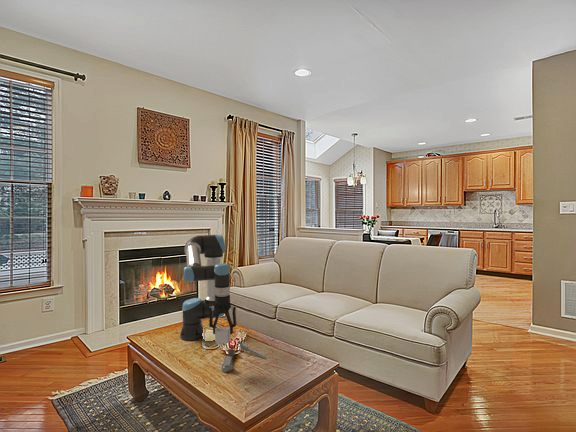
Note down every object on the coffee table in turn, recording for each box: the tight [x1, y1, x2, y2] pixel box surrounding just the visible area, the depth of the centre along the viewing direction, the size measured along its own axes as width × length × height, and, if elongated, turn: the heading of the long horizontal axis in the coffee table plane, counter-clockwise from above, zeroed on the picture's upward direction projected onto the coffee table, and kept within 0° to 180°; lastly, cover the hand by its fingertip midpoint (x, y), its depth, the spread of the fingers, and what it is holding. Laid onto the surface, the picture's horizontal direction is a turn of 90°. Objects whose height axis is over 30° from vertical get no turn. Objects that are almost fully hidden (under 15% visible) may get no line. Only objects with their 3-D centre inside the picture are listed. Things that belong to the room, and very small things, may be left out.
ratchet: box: [221, 349, 236, 374], centre depth 181 cm, size 22×6×6 cm, turn 2°
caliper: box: [238, 340, 268, 360], centre depth 190 cm, size 20×1×6 cm, turn 58°
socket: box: [215, 326, 230, 344], centre depth 172 cm, size 6×6×6 cm
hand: (223, 340), depth 172 cm, fingers closed on socket, 6 cm apart
